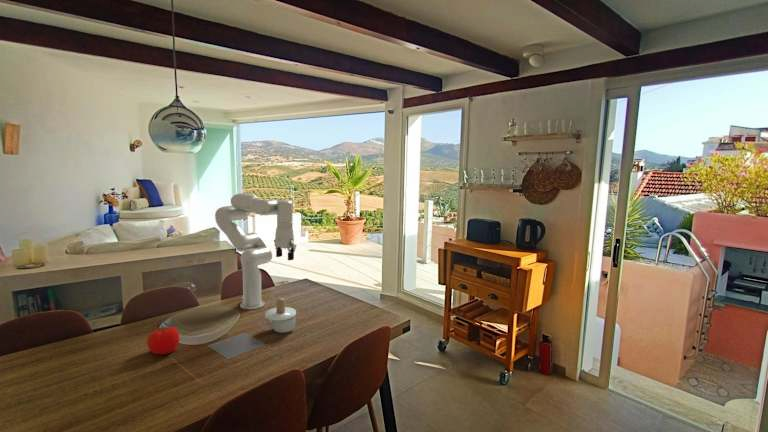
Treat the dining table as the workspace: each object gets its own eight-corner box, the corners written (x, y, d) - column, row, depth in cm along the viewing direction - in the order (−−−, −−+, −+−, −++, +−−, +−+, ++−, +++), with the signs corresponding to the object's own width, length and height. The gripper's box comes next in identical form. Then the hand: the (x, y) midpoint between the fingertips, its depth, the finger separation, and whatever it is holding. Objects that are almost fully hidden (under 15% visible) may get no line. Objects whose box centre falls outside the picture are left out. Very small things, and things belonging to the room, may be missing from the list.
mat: (207, 346, 155) (207, 345, 155) (244, 333, 168) (244, 332, 168) (228, 360, 144) (227, 359, 144) (265, 345, 157) (265, 344, 157)
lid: (259, 314, 170) (258, 299, 169) (284, 306, 181) (284, 292, 180) (276, 323, 161) (276, 307, 160) (302, 314, 172) (302, 299, 171)
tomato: (187, 349, 152) (186, 325, 151) (160, 361, 142) (159, 336, 141) (168, 342, 157) (167, 319, 156) (140, 354, 147) (139, 329, 146)
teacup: (298, 326, 177) (298, 311, 176) (291, 336, 166) (291, 320, 165) (271, 324, 178) (270, 309, 177) (261, 334, 168) (261, 318, 167)
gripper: (268, 223, 187) (268, 256, 189) (289, 228, 176) (289, 262, 178) (280, 222, 193) (280, 254, 195) (301, 226, 182) (301, 260, 184)
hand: (284, 258), depth 187 cm, fingers open, 9 cm apart
